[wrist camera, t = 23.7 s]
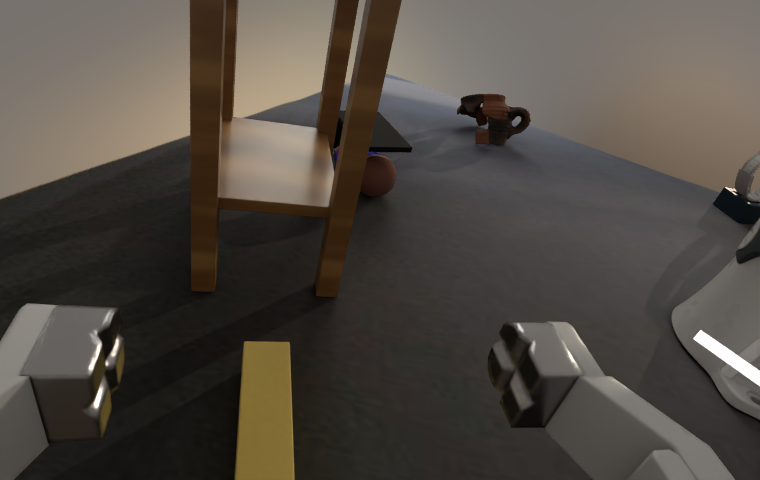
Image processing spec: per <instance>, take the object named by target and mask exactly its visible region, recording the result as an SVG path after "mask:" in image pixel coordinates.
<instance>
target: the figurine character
mask: <svg viewBox="0 0 760 480" xmlns="http://www.w3.org/2000/svg"><path fill="white" fill-rule="evenodd" d="M345 113H346V111H340V112H339V117H338V123H337V129H336V135H335V140H334V146H333V148H336V149H335V150H334V152H335V153H336V155H335V160H336V161H337V157H338V151H339V146H340V140H341V135H342V129H343V124H344V118H345ZM411 150H412V147H411V146H410V145H409V144H408V143H407V141H406V140H405V139H404V138H403V137H402V136H401V135H400V134H399V133H398V132H397V131H396V130H395V129H394V128H393V127H392V126H391V125H390V123H389V122H388V121H387V120H386V119H385V118H384V117H383V116H382V115H381V114H380V113H379V112H377V115H376V120H375V124H374V129H373V133H372V138H371V142H370V147H369V152H368V156H367V161H366V165H365V170H364V174H363V179H362V184H361V188H360V191H361V192H362V193H363V194H365V195H368V196H372V197H378V196H382V195H384V194H386V193H388V192H389V191H390V190H391V189H392V188H393V186H394V184H395V182H396V169H395V167H394V165H393V163H392V162H391V161H390V160H389V159H388V158H386V157H384V156H382V155H380V154H378V153H377V152H411Z"/></svg>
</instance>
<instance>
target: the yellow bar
mask: <svg viewBox="0 0 760 480" xmlns="http://www.w3.org/2000/svg"><path fill="white" fill-rule="evenodd" d="M234 480H294V452H293V422H292V393H291V364H290V343H289V342H248V341H245V342H244V346H243V358H242V371H241V386H240V401H239V417H238V432H237V447H236V463H235V478H234Z"/></svg>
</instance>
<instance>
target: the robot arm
mask: <svg viewBox="0 0 760 480" xmlns="http://www.w3.org/2000/svg"><path fill="white" fill-rule="evenodd" d="M671 320H672V325H673V328H674V331H675V333H676V335H677V337H678V338H679V340H680V341H681V343H682V344H683V346H684V347H685V348H686V350H687V351H688V352H689V353H690V354H691V355H692V356H693V358H694V359H695V360H696V361H697V362H698V363H699V364H700V365H701V366H702V367H703V368H704V369H705V370H706V371H707V372H708V374H709V375H710V376H711V378H712V380H713V381H714V383H715V385H716V387H717V388H718V390H719V392H720V393H721V395H722V396H723V397H724V398H725V400H726V401H727V402H728V403H729V404H731V405H732V406H734V407H735V408H737V409H739V410H741V411H743V412H745V413H747V414H749V415H751V416H753V417H755V418H757V419H759V420H760V218H759V220H758V221H757V222H756V223H755V225H754V226H753V227H752V228H751V230H750V231H749V232H748V234H747V235H746V236H745V238H744V239H743V240H742V242H741V243H740V245H739V246H738V250H737V251H736V256H735V257H734V258H733V259H732V260H731V262H730V263H729V264H728V265H727V266H726V267H725V268H724V269H723V270H722V271H721V272H720V273H718V274H717V275H716V276H715V277H714V278H713V279H712V280H711V281H710V282H709V283H708V284H706V285H705V286H704V287H703V288H702V289H700V290H699V291H698V292H697V293H695V294H694V295H693V296H691V297H690V298H689V299H687V300H686V301H684V302H683V303H681V304H679V305H678V306H676V307H675V308H674V310H673V312H672V316H671ZM121 324H122V319H121V313H120V310H119V309H118V308H108V307H90V306H72V305H43V304H26V305H25V306H23V307H22V308H21V309H20V310H19V311H18V313H17V314H16V316H15V318H14V319H13V321H12V323H11V324H10V326H9V328H8V329H7V331H6V333H5V334H4V336H3V338H2V339H1V341H0V480H14V479H15V478H16V477H17V476H18V475H19V474H20V473H21V472H22V471H23V470H24V469H25V468H26V467H27V466H28V465H29V464H30V463H31V462H32V461H33V460H34V459H35V458H36V457H37V456H38V455H39V454H40V453H41V452H43V451H44V450H45V449H46V448H47V447H48V446H49V445H48V443H50V442H69V441H87V440H102V438H103V435H104V432H105V429H106V425H107V422H108V419H109V416H110V413H111V410H112V404H111V397H110V394H111V393H112V392H113V391H115V390H116V389H117V388H118V387H119V383H120V380H121V376H122V372H123V366H124V359H125V345H124V339H123V338H122V337H121V336H120V335H119V334H118V333H119V330H120V327H121ZM499 333H500V335H501V338H502V340H500V341H499V342H497V343H496V344H495V345H493V347H492V349H491V351H490V353H489V356H488V372H489V377H490V379H491V382H492V384H493V386H494V387H495V388H496V389H498V390H499V391H500V392H501V393H502V398H501V401H500V403H501V405H502V408H503V410H504V412H505V415H506V417H507V419H508V422H509V424H510V426H511V428H545V429H544V430H545V431H546V432H547V433H548V434H549V435H550V436H551V437H552V438H553V439H554V440H555V441H556V442H557V443H558V444H559V445H560V446H561V447H562V448H563V449H564V450H565V451H566V452H567V453H568V454H569V455H570V457H571V458H572V459H573V460H574V461H575V462H576V463H577V464H578V465H579V466H580V467H581V468H582V469H583V470H584V471H585V472H586V473H587V474H588V475H589V476H590V477H591V478H592V479H593V480H735V479H734V478H733V476H732V475H731V474H730V472H729V471H728V470H727V468H726V467H725V466H724V464H723V463H722V462H721V460H720V459H719V458H718V457H717V455H716V454H715V453H714V451H713V450H712V449H711V447H710V446H709V445H707V444H706V443H704V442H703V441H701V440H700V439H699V438H697V437H696V436H694V435H693V434H692V433H690V432H689V431H687V430H686V429H685V428H683V427H682V426H680V425H679V424H677V423H676V422H675V421H673V420H672V419H670V418H669V417H668V416H666V415H665V414H663V413H662V412H660V411H659V410H658V409H656V408H655V407H653V406H652V405H651V404H649V403H648V402H646V401H645V400H644V399H642V398H641V397H639V396H638V395H636V394H635V393H634V392H632V391H631V390H629V389H628V388H627V387H625V386H624V385H622V384H621V383H620V382H618V381H617V380H615V379H614V378H612V377H611V376H605V375H604V374H603V372H602V371H601V369H600V367H599V366H598V364H597V363H596V361H595V360H594V358H593V357H592V355H591V354H590V352H589V351H588V349H587V348H586V346H585V345H584V343H583V342H582V340H581V339H580V337H579V336H578V334H577V333H576V331H575V330H574V328H573V327H572V326H571V325H570V324H568V323H567V322H535V321H508V322H506V323H505V324H504V325H503V327H502V329H501V330H500V332H499Z"/></svg>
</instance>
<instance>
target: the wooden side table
mask: <svg viewBox="0 0 760 480" xmlns="http://www.w3.org/2000/svg"><path fill="white" fill-rule="evenodd" d="M401 1H402V0H366V2H365V8H364V13H363V20H362V24H361V30H360V35H359V42H358V47H357V52H356V58H355V63H354V68H353V74H352V79H351V85H350V90H349V96H348V102H347V107H346V113H345V118H344V124H343V129H342V135H341V140H340V146H339V151H338V157H337V162H336V168H335V173H334V168H333V163H332V152H333V146H334V140H335V135H336V129H337V123H338V117H339V112H340V106H341V100H342V94H343V89H344V83H345V77H346V71H347V66H348V59H349V54H350V48H351V42H352V37H353V31H354V25H355V19H356V14H357V7H358V2H359V0H335V5H334V12H333V18H332V25H331V32H330V38H329V46H328V52H327V59H326V65H325V73H324V79H323V85H322V92H321V99H320V106H319V112H318V119H317V126H316V128H312V127H304V126H297V125H289V124H282V123H274V122H267V121H259V120H251V119H244V118H236V117H233V106H234V84H235V82H234V81H235V62H236V41H237V20H238V0H190V125H191V126H190V129H191V130H190V150H191V290H192V291H205V292H214V291H215V286H216V279H217V254H218V224H219V209H228V210H240V211H252V212H264V213H275V214H287V215H299V216H311V217H323V218H326V223H325V229H324V234H323V240H322V245H321V251H320V256H319V262H318V267H317V273H316V278H315V291H316V296H320V297H337V293H338V289H339V284H340V280H341V275H342V270H343V266H344V261H345V257H346V252H347V248H348V243H349V238H350V234H351V229H352V225H353V220H354V216H355V211H356V206H357V202H358V197H359V193H360V188H361V184H362V179H363V174H364V170H365V165H366V161H367V156H368V152H369V147H370V142H371V138H372V133H373V129H374V124H375V120H376V115H377V110H378V106H379V101H380V97H381V92H382V88H383V83H384V78H385V74H386V69H387V65H388V60H389V55H390V51H391V46H392V42H393V37H394V33H395V28H396V24H397V19H398V14H399V10H400V5H401Z"/></svg>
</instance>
